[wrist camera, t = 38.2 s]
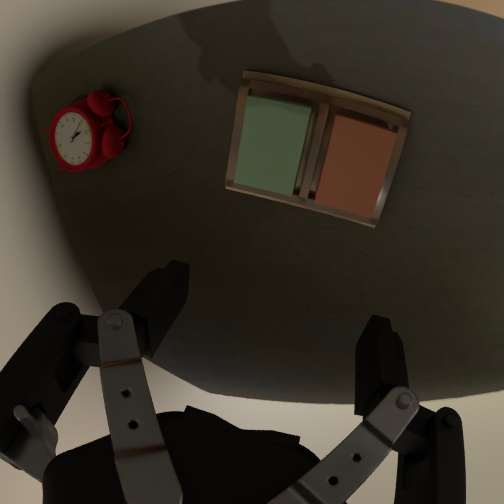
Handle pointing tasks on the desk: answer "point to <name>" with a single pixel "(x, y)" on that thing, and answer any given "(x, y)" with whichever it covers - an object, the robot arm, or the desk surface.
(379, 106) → the divided wooden tray
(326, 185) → the pad terracotta
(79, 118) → the alarm clock
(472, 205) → the desk surface
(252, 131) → the pad sage
